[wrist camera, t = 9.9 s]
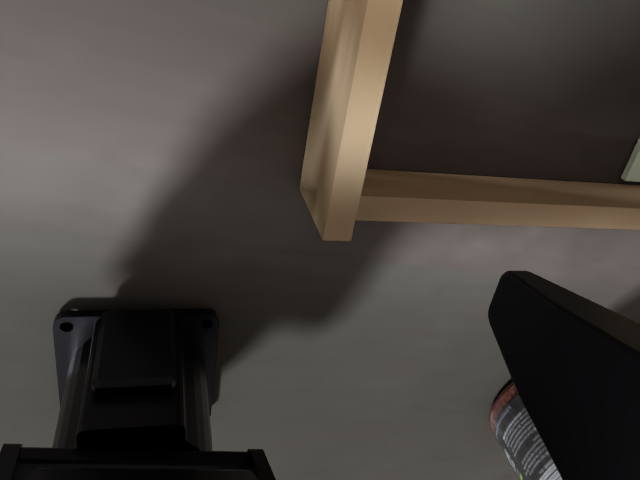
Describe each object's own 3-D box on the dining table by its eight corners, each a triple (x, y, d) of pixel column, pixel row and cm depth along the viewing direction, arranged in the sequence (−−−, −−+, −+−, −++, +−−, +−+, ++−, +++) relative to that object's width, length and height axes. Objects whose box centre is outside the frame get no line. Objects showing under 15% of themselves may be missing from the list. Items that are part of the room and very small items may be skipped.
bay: (707, 207, 28) (779, 250, 25) (299, 188, 22) (322, 240, 19) (890, -121, 21) (1025, -124, 18) (371, -274, 15) (428, -321, 12)
